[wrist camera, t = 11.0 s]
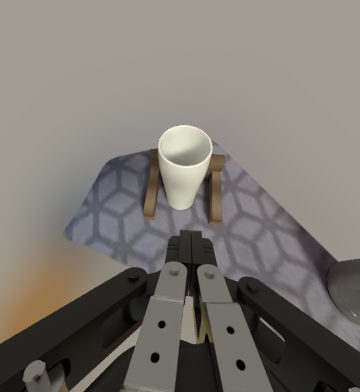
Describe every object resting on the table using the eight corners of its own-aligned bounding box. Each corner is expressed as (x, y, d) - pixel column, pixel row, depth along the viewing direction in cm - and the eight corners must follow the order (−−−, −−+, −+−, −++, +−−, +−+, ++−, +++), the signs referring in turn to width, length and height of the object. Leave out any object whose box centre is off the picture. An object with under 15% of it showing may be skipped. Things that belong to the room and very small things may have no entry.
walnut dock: (218, 225, 33) (226, 213, 28) (145, 219, 33) (140, 206, 28) (217, 173, 38) (224, 155, 33) (153, 168, 38) (150, 149, 33)
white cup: (177, 177, 38) (180, 116, 24) (204, 195, 36) (224, 141, 22) (155, 200, 35) (144, 147, 22) (183, 221, 33) (191, 178, 20)
